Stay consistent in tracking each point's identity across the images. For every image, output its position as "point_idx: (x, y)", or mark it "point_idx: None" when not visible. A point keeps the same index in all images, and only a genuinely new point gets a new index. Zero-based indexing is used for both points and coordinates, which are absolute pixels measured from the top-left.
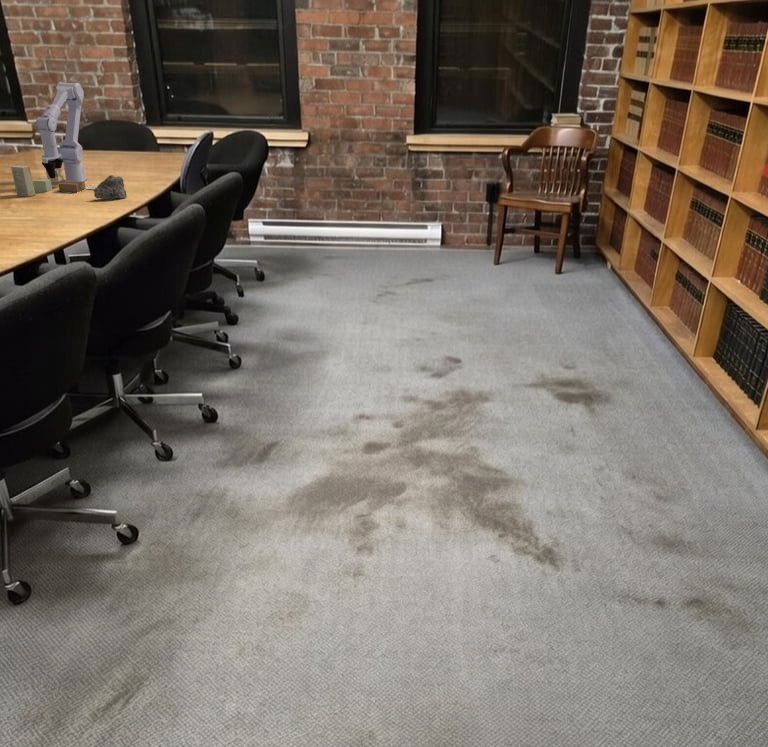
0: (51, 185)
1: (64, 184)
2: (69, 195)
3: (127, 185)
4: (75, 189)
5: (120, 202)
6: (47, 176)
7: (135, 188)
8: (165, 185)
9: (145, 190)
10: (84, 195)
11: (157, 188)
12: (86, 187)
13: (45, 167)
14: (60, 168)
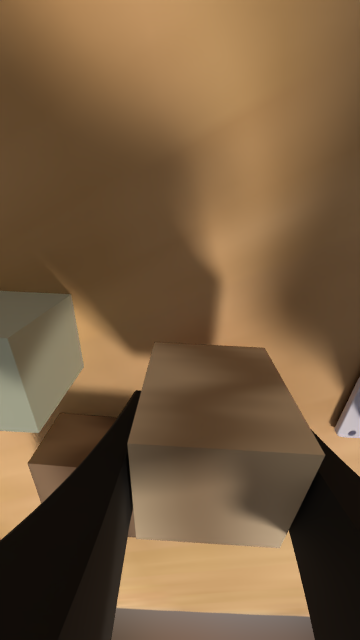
0: (65, 390)
1: (39, 485)
2: (9, 466)
3: (281, 562)
4: None
5: None
6: (147, 374)
7: (224, 580)
8: (285, 614)
9: (196, 595)
10: None
11: (234, 607)
12: None
13: (32, 524)
14: (271, 540)
